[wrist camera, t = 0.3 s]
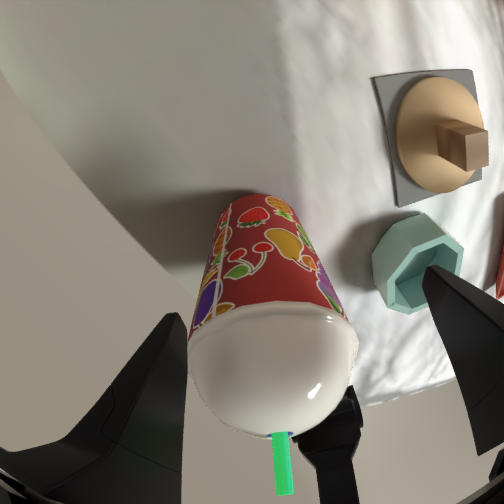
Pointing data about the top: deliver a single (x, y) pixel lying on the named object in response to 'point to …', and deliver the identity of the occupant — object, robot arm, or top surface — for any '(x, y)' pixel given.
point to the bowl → (412, 260)
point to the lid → (440, 134)
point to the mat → (390, 99)
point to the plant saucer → (500, 277)
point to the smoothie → (268, 330)
